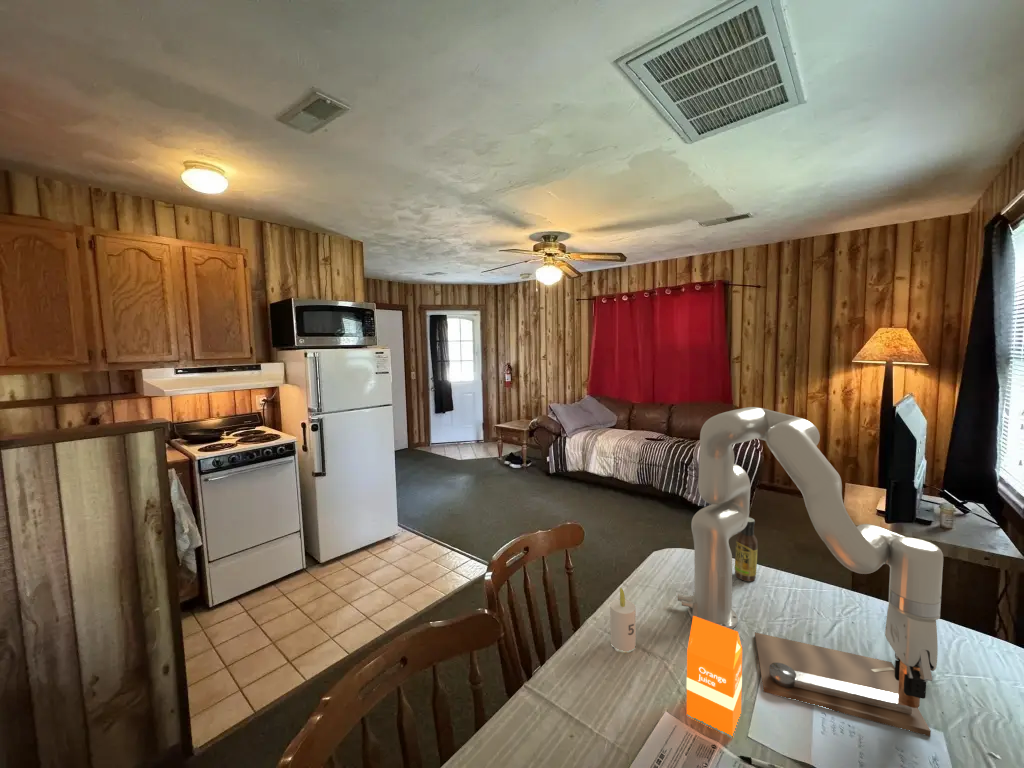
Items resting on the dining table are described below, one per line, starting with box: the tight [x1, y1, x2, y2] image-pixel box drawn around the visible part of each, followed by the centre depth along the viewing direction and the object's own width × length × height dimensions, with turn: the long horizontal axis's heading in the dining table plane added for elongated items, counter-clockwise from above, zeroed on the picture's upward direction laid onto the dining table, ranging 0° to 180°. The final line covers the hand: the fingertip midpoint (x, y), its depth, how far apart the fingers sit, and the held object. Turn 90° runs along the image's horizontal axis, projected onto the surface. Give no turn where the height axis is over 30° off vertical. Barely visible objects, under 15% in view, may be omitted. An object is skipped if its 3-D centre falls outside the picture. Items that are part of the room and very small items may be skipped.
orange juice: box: [686, 616, 743, 737], centre depth 88 cm, size 8×9×20 cm
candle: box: [609, 587, 637, 651], centre depth 110 cm, size 6×6×15 cm
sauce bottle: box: [734, 516, 759, 582], centre depth 139 cm, size 6×6×20 cm
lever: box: [769, 660, 921, 714], centre depth 91 cm, size 26×5×12 cm, turn 67°
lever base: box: [754, 632, 932, 737], centre depth 98 cm, size 28×20×1 cm
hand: (909, 687), depth 87 cm, fingers closed on lever, 3 cm apart
